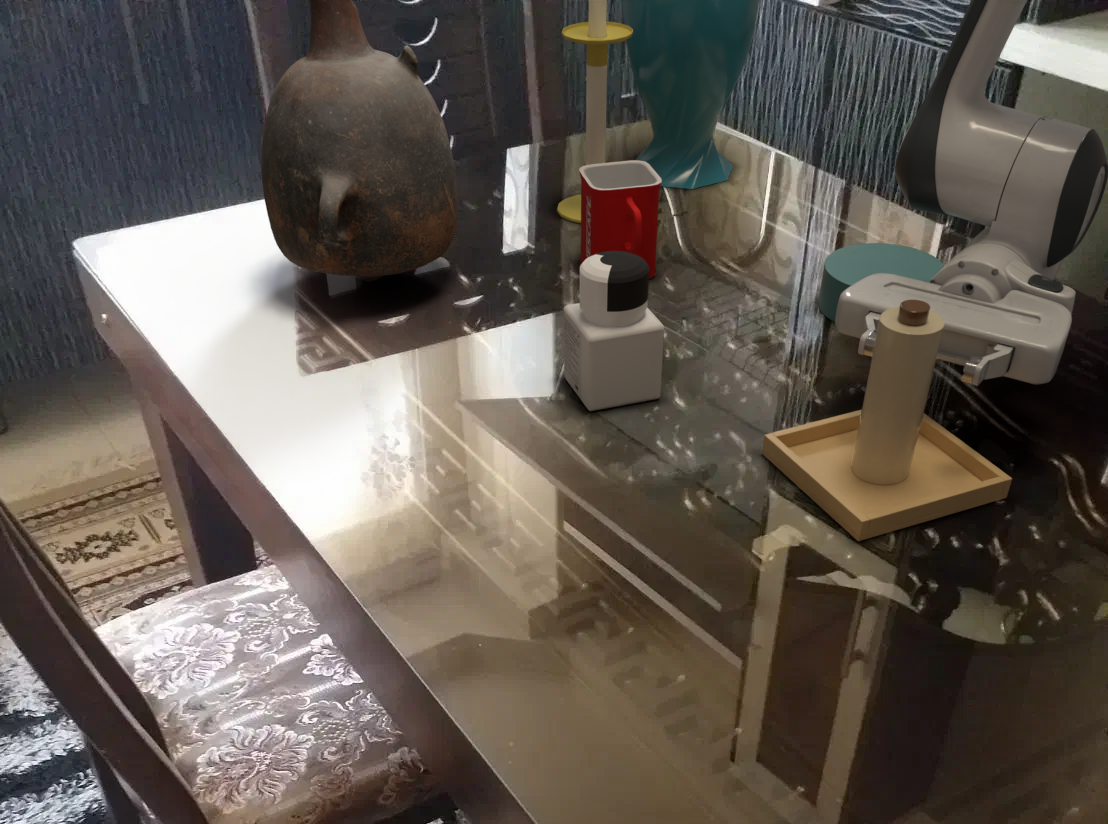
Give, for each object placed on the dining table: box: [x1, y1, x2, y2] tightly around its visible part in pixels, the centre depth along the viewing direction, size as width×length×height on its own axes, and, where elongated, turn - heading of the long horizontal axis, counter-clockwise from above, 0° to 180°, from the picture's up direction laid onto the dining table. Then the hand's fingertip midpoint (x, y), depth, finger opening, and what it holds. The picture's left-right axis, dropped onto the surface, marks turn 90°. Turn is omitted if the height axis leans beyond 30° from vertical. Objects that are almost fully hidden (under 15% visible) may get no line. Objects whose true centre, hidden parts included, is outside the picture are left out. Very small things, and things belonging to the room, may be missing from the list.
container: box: [563, 251, 665, 412], centre depth 112 cm, size 8×8×13 cm
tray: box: [761, 409, 1013, 542], centre depth 103 cm, size 16×16×2 cm
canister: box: [851, 300, 945, 485], centre depth 99 cm, size 5×5×15 cm
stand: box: [817, 242, 945, 323], centre depth 127 cm, size 13×13×4 cm
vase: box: [621, 0, 761, 190], centre depth 149 cm, size 17×17×30 cm
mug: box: [578, 159, 662, 280], centre depth 132 cm, size 12×8×11 cm
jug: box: [260, 0, 459, 283], centre depth 125 cm, size 24×21×30 cm
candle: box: [556, 0, 633, 224], centre depth 137 cm, size 10×10×38 cm
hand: (917, 361), depth 99 cm, fingers open, 8 cm apart
